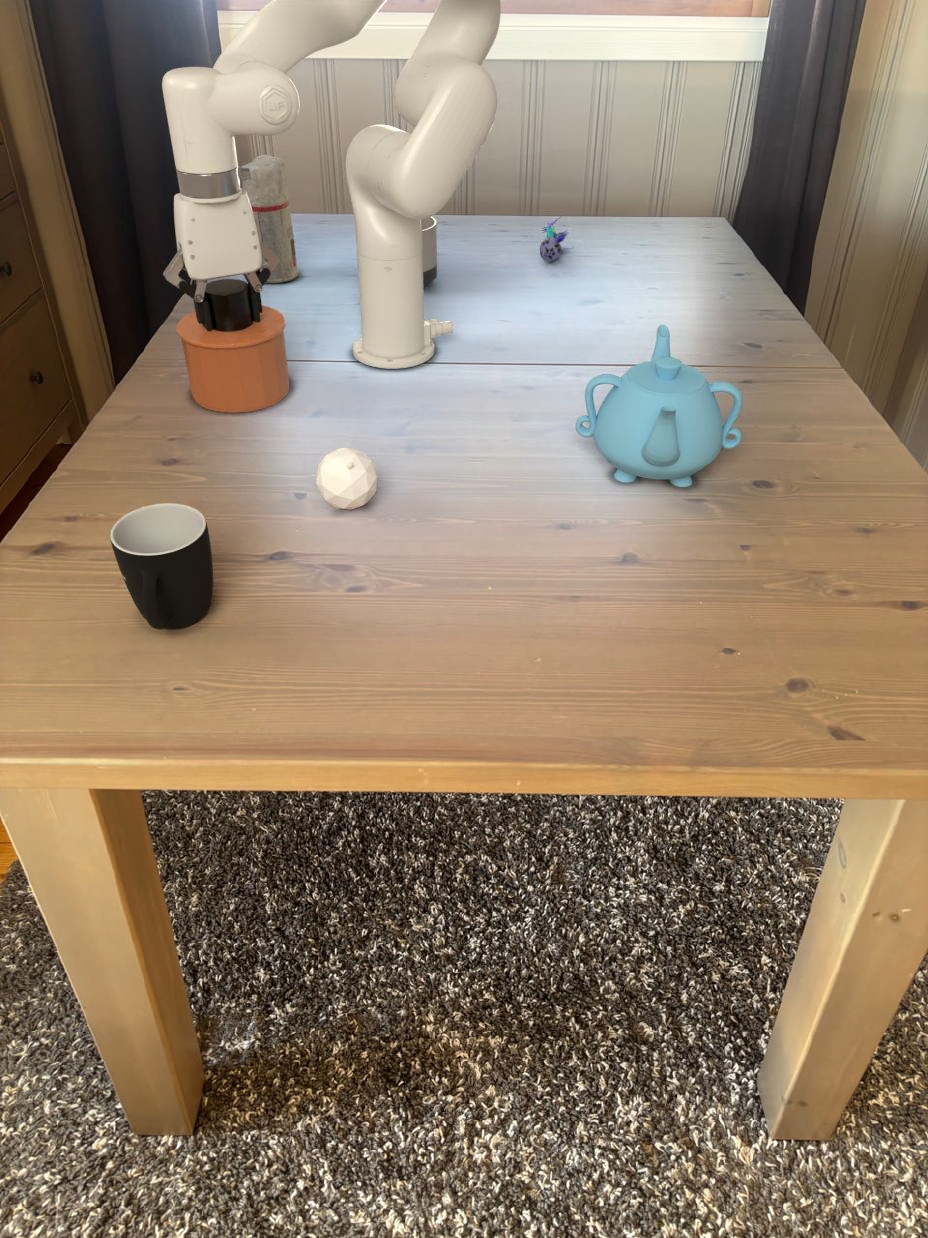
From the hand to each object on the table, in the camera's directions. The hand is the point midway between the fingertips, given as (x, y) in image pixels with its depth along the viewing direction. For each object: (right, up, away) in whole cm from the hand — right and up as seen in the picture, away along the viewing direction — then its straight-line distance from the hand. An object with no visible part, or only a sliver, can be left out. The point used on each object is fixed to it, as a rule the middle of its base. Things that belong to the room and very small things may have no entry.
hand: (231, 321), depth 128 cm
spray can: (-2, +21, +43) cm, 48 cm away
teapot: (+56, -21, -9) cm, 60 cm away
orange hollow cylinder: (0, -8, +6) cm, 10 cm away
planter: (+21, +20, +41) cm, 50 cm away
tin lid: (0, -1, 0) cm, 1 cm away
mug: (+3, -41, -33) cm, 53 cm away
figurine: (+50, +29, +53) cm, 78 cm away
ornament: (+18, -27, -16) cm, 37 cm away
